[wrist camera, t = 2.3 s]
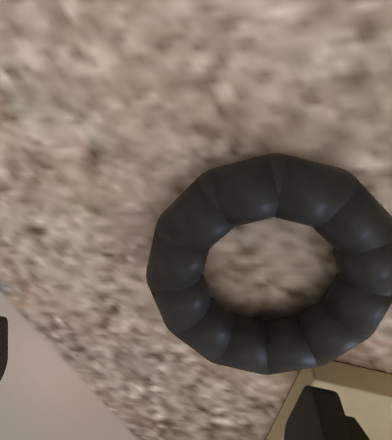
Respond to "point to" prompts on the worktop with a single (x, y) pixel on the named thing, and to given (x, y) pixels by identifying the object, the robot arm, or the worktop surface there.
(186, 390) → the worktop surface
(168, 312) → the ring
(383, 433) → the stand
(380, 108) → the worktop surface
